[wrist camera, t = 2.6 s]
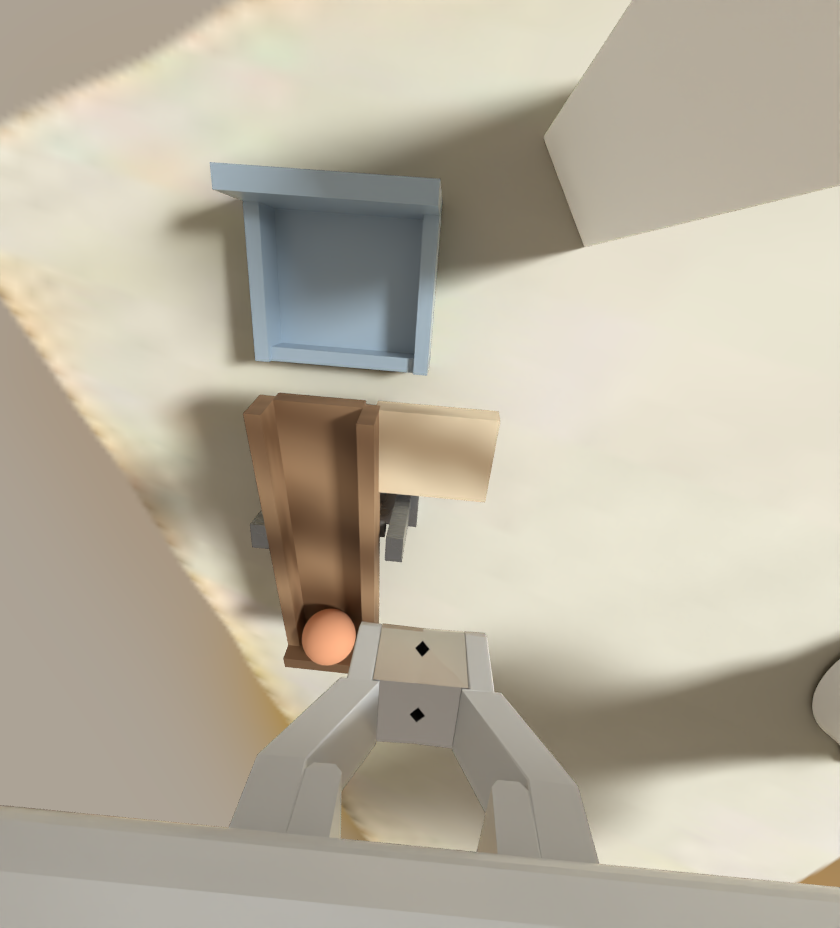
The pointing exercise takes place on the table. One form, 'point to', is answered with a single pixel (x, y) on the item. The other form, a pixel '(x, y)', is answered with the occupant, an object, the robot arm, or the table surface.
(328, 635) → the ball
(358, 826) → the table surface
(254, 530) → the pivot stand
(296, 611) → the lever
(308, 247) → the light blue open box
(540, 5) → the table surface
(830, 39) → the milk
